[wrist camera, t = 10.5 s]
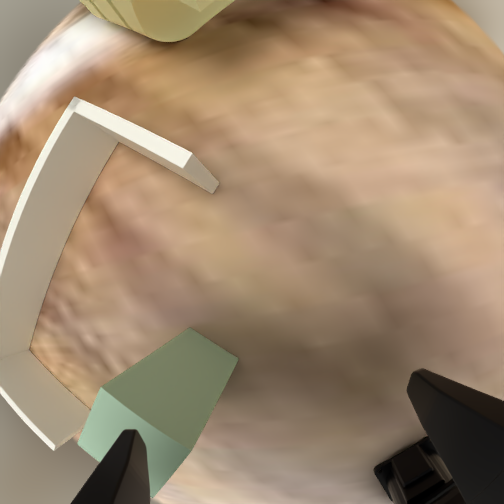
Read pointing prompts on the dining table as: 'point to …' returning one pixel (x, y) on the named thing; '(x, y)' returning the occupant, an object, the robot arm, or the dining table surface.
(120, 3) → the slatted curved stool
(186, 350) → the block
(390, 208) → the dining table surface
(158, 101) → the dining table surface
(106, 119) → the cream u-shaped wall
